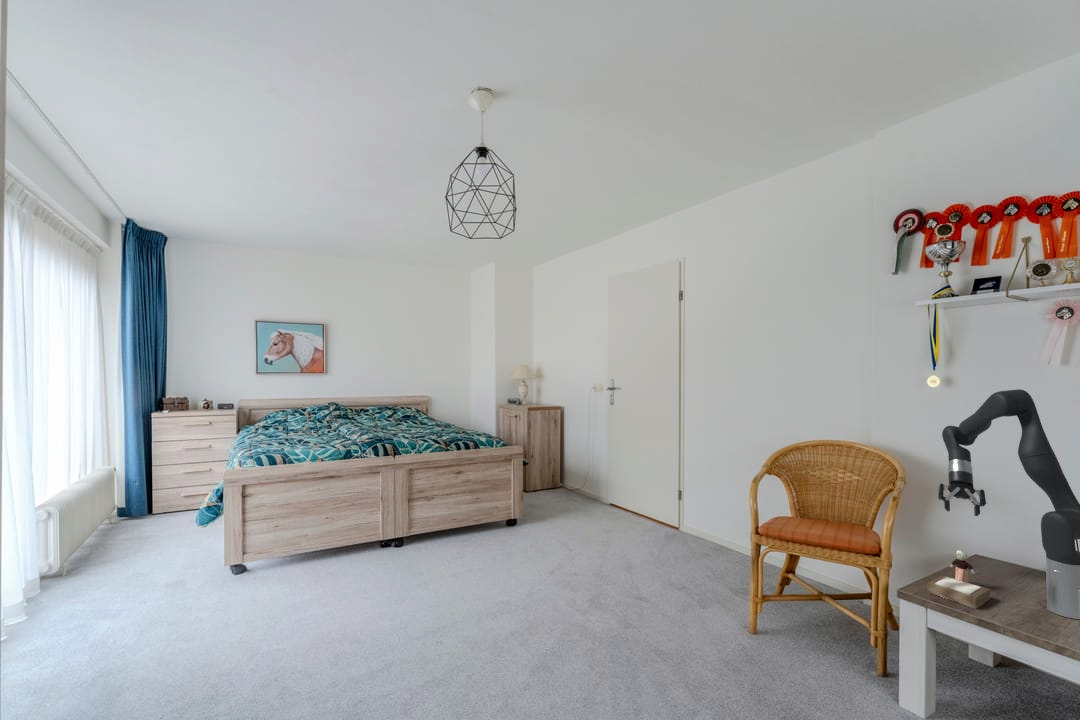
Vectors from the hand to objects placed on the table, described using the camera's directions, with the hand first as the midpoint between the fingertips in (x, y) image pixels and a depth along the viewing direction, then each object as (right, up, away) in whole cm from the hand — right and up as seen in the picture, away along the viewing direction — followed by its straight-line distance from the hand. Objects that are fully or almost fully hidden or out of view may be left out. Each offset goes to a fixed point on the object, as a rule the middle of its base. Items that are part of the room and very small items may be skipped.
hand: (962, 513), depth 199 cm
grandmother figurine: (-6, -24, -8) cm, 26 cm away
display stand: (-15, -24, -17) cm, 33 cm away
